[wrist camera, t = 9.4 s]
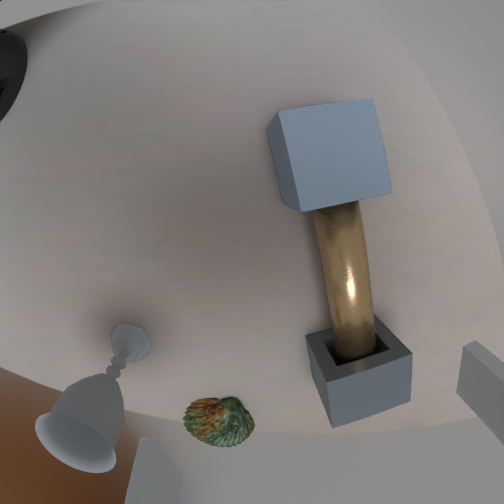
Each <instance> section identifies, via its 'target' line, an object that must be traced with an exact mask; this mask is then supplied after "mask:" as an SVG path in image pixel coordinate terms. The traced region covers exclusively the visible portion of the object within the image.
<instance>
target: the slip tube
mask: <svg viewBox="0 0 504 504" xmlns="http://www.w3.org/2000/svg"><path fill="white" fill-rule="evenodd" d="M312 212H313V217H314V222H315V227H316V233H317V238H318V243H319V249H320V254H321V260H322V266H323V272H324V277H325V283H326V290H327V296H328V302H329V309H330V315H331V322H332V329H333V336H334V344H335V351H336V359H337V366H341V365H344V364H347V363H350V362H354V361H357V360H360V359H363V358H366V357H369V356H372V355H375V354H376V341H375V326H374V313H373V302H372V292H371V282H370V274H369V265H368V258H367V250H366V243H365V236H364V229H363V223H362V217H361V211H360V205H359V200H356V201H352V202H347V203H343V204H338V205H333V206H329V207H324V208H320V209H315V210H312Z"/></svg>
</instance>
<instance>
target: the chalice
mask: <svg viewBox="0 0 504 504" xmlns="http://www.w3.org/2000/svg"><path fill="white" fill-rule="evenodd" d="M111 338H112V349H113V352H114V354H115V355H116V356H114V357H113V358H112V359H111V363H112V366H108V367H107V369H106V372H107V374H97V375H94V376H90V377H87V378H84V379H82V380H80V381H78V382H76V383H74V384H72V385H70V386H68V387H67V389H66V390H65V391H64V392H63V394H62V395H61V396H60V398H59V399H58V401H57V402H56V404H55V405H54V407H53V408H52V410H51V411H50V412H49V413H47V414H44V415H41V416H40V417H39V418H38V419H37V420H36V425H35V429H36V433H37V436H38V438H39V440H40V441H41V442H42V444H43V445H44V447H45V448H46V449H47V450H48V451H49V452H50V453H51V454H52V455H53V456H55V457H56V458H58V459H59V460H60V461H62V462H63V463H65V464H67V465H70V466H71V467H73V468H76V469H79V470H82V471H86V472H92V473H101V472H107V471H109V470H110V469H112V468H113V467H114V465H115V463H116V456H115V451H114V447H115V444H116V441H117V439H118V437H119V434H120V431H121V429H122V426H123V424H124V421H125V418H124V404H123V398H122V394H121V391H120V387H119V384H118V382H117V381H116V380H115V378H118V377H119V376H120V375H121V372H120V369H124V368H125V367H126V362H135V361H137V360H139V359H141V358H144V357H145V356H146V355H147V354H148V353H149V350H150V340H149V337H148V336H147V334H146V333H145V331H143V330H142V329H141V328H140V327H138V326H136V325H134V324H128V323H126V324H121V325H119V326H117V327H116V328H115V329H114V330H113V332H112V335H111Z"/></svg>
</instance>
